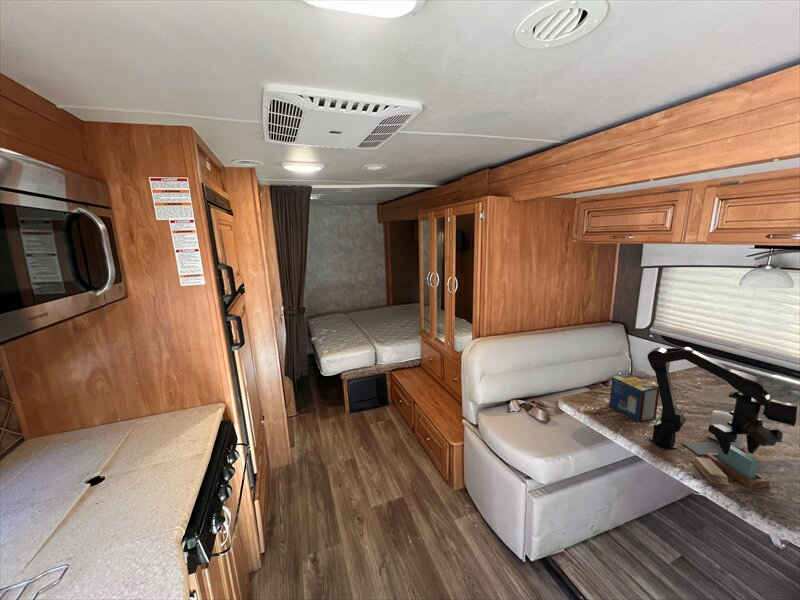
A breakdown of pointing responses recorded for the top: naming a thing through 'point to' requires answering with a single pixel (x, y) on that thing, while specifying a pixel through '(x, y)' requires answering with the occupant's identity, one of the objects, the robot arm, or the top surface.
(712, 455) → the walnut rack
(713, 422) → the photo printer
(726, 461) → the teal block
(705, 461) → the offcut stack
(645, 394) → the protein box
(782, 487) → the top surface
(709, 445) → the charcoal mat
